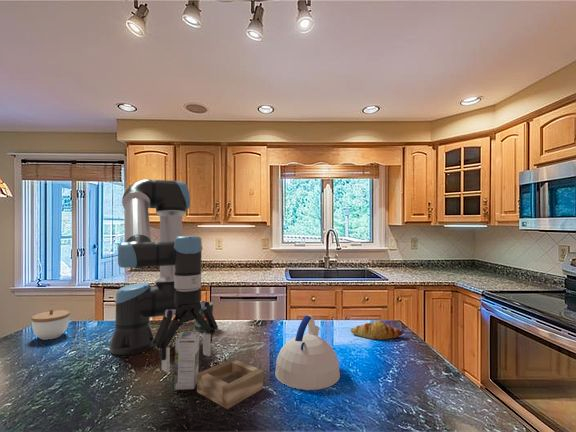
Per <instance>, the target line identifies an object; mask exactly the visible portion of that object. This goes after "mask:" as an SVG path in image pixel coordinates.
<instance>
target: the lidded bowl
mask: <svg viewBox="0 0 576 432" xmlns="http://www.w3.org/2000/svg"><path fill="white" fill-rule="evenodd" d="M70 315H71V313H70V310H66V309H65V310H64V309H62V310H61V309H60V310H57V309H56V310H54V309H49V311H44V312H40V313H36V314H35V315H32V316H31V328H32V332H33V334H34V335H35V336H36V337H38V338H39V339H40V340H41V339H42V341H43V340H44V341H45V340H46V341H47V340H48V339H49V340H53V339H57V338H60V337H61V336H62V335H63V333H64V332H66V330H67V329H68V326H69V324H70Z"/></svg>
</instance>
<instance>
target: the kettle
mask: <svg viewBox="0 0 576 432" xmlns="http://www.w3.org/2000/svg"><path fill="white" fill-rule="evenodd" d="M306 328H307V329H306ZM306 330H307V333H305V332H306ZM319 331H320V327H319V326H318V325H316V322H315V318H314V316H313V315H310V314H309V315H305V316H304V317H303V318H302V319H301V322H300V324H299V326H298V328H297V332H296V335H295V336H294V337H292V338H291V339H289V340H288V341H287V342H285V344H284V345H283V346H282V347H281V349H280V350H279V352H278V355H277V356H276V357H277V358H276V362H275V375H274V376H275V377H276V378H277V380H278V381H279V382H280V383H281V384H282V385H284V384H285V386H286V385H287V387H288V388H292V389H295V388H296V390H301V389H302V390H303V391H319V390H323V389H327V388H330V387H331V386H333V385H335V384H336V383H337V382H339V380H340V377H341V376H340V375H341V373H340V364H339V363H340V362H339V359H338V356H337V354H336V352H335V350H334V349H333V347H332V346H331V344H329V343H328V342H327V341H326V340H325V339H323V338H322V337H320V336H319V333H320V332H319ZM302 390H301V391H302Z"/></svg>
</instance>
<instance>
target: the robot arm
mask: <svg viewBox="0 0 576 432" xmlns="http://www.w3.org/2000/svg"><path fill="white" fill-rule="evenodd" d="M121 203H122V207H123V209H124V210H125V211H124V212H125V214H124V218H125V219H124V220H125V221H124V224H125V225H124V228H125V229H124V230H125V232H124V237H125V238H124V239H125V240H124V242H120V243H119V244H118V247H117V265H118V267H120V268H123V269H125V268H131V269H135V268H136V269H137V268H147V267H149V268H150V267H159V277H158V279H156V280H155V285H153V286H152V285H151V284H150V282H137V283H133V284H128V285H125V286H122V287H120V288H119V289H117V291H116V293H115V302H114V304H115V319H114V320H115V325H114V326H115V328H114V331H113V334H112V337H111V340H110V343H109V353H111V354H113V355H117V356H128V355H135V354H136V355H137V354H140V353H143V352H146V351H148V350H150V349H152V348H154V347H155V348H157V349H159V350H158V353H159V354H158V356H159V357H158V358H159V360H161V371H164V372H165V373H169V372H170V368H171V367H170V366H171V365H170V364H171V363H170V361H171V360H170V359H171V358H170V356H171V355H170V354H171V353H170V351H171V348H170V347H169V346H168V345H169V344H170V343H171V341H172V339H173V338H174V336H175V335H176V333H177V332H178V330H179V328H180V327H181V326H182V325H183V324H184V323H185V324H186V323H189V322H192V321H195V320H196V321H197V322H198V323H199V324H200V325H201V327H202V328H203V329H204V330H205V331H203V332H202V355H203V356H206V357H211V344H212V343H213V335H214V334H215V333H216V332H215V331H216V330H218V328H219V326H218V323H217V321H216V319H215V317H214V314H213V315H212V312H211V310H210V304H209V302H210V301H206V300H202V289H201V287H202V253H203V252H202V251H203V245H202V238H201V236H198V235H183V216H184V215H185V214H187V210H189V209H190V207H191V196H190V190H189V187H188V184H187V183H185V182H184V181H178V180H169V179H168V180H163V179H151V178H150V179H149V178H147V179H141V180H138V181H136V182H134V183H132V184H131V185H130V186H128V187H127V189H126V190H125V191H124V193H123V196H122V202H121ZM149 209H155V213H156V215H157V216H159V241H152V236H151V235H152V234H151V227H150V226H151V225H150V224H151V223H150V214H149ZM200 302H202V303H200ZM200 309H202V310H203V313H204V315H205V317H206V319H207V322H208V323H207V322H206V321H205V320H204V319H203V317H202V315H201V314H200V313H199V311H200ZM156 317H162V320H161V322H160V325H158V326H159V327H158V329H157V331H156V333H155V336H154V334H153V331H152V327H151V323H150V320H151V319H150V318H156Z"/></svg>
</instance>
